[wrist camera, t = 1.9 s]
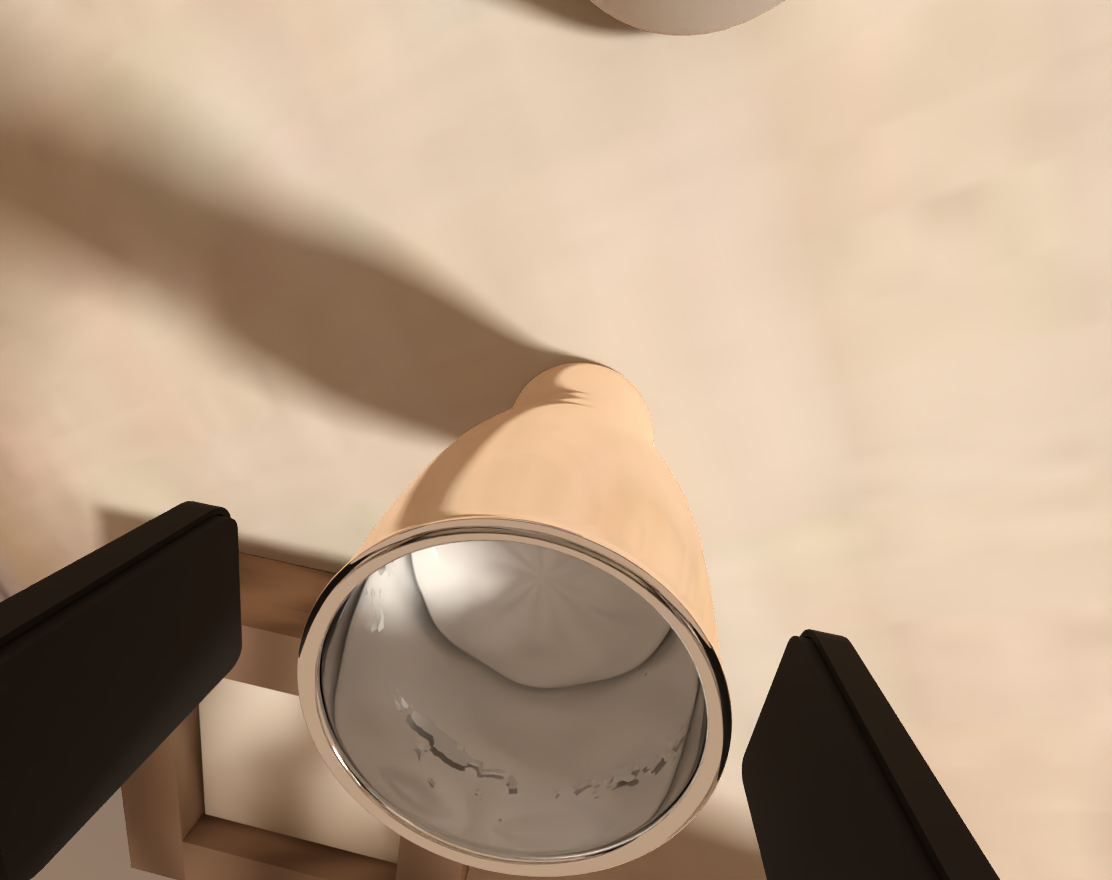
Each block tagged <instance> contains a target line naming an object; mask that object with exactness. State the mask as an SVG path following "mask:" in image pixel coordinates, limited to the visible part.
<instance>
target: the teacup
mask: <svg viewBox="0 0 1112 880" xmlns="http://www.w3.org/2000/svg"><path fill="white" fill-rule="evenodd" d="M590 1H591V2H592V3H594V4H595V5H596V6H597V7H598V8H600V9H601V10H602V11H604V12H605V13H607V14H608V15H610V16H612V17H614V18H615V19H617V20H619V21H621V22H623V23H625V24H628V25H630V26H633V27H635V28H638V29H640V30H644V31H648V32H653V33H659V34H665V35H687V36H689V35H699V34H708V33H712V32H717V31H721V30H725V29H728V28H730V27H733V26H736V25H739V24H741V23H744V22H747V21H749V20H751V19H753V18H755V17H757V16H759V15H760V14H762V13H764V12H766V11H768V10H770V9H772V8H773V7H775V6H777V5H778V4H780V3H781V2H783V1H784V0H590Z"/></svg>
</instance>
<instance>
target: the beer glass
mask: <svg viewBox="0 0 1112 880" xmlns="http://www.w3.org/2000/svg"><path fill="white" fill-rule="evenodd" d="M653 442H654V426H653V421H652V417H651V413H650V411H649V408H648V406H647V404H646V402H645V400H644V398H643V396H642V395H641V393H640V392H639V391H638V389H637V388H636V387H635V386H634V385H633V384H632V383H631V382H630V381H629V380H627V379H626V378H625V377H624V376H622V375H621V374H619V373H617V372H615V371H614V370H611V369H609V368H607V367H604V366H601V365H597V364H592V363H568V364H563V365H559V366H556V367H553V368H550V369H548V370H546V371H544V372H542V373H541V374H539V375H538V376H536V377H535V378H534V379H532V380H531V381H530V382H529V383H528V384H527V385H526V386H525V387H524V389H523V390H522V391H521V393H520V394H519V396H518V397H517V399H516V401H515V403H514V406H513V408H512V409H509V410H507V411H504V412H502V413H500V414H498V415H496V416H494V417H492V418H490V419H488V420H486V421H484V422H482V423H481V424H479V425H477V426H475V427H474V428H472V429H470V430H469V431H467V432H466V433H464V434H463V435H462V436H461V437H459V438H458V439H457V440H456V441H455V442H453V443H452V444H451V445H450V446H449V447H447V448H446V449H445V450H444V451H443V452H441V453H440V454H439V455H438V456H437V457H435V458H434V459H433V460H432V461H431V462H430V463H429V464H428V465H427V466H426V467H425V468H424V469H423V471H422V472H421V473H420V474H419V475H418V476H417V477H416V478H415V479H414V480H413V481H412V483H411V484H410V485H409V486H408V487H407V488H406V489H405V490H404V491H403V492H402V494H401V495H400V496H399V497H398V498H397V500H396V501H395V502H394V503H393V505H392V506H391V507H390V509H389V510H388V511H387V512H386V514H385V515H384V516H383V517H382V519H381V520H380V521H379V522H378V524H377V525H376V526H375V528H374V529H373V530H372V532H371V533H370V534H369V536H368V537H367V539H366V540H365V541H364V543H363V544H362V545H361V547H360V548H359V549H358V551H357V552H356V553H355V555H354V556H353V557H352V558H351V560H350V561H349V562H348V563H347V564H346V565H345V566H344V567H343V568H342V569H341V570H340V571H339V572H338V573H337V574H336V575H335V576H334V577H333V578H332V579H331V581H330V582H329V583H328V584H327V586H326V587H325V588H324V590H323V591H322V593H321V594H320V596H319V597H318V599H317V601H316V602H315V604H314V606H313V608H312V610H311V612H310V614H309V616H308V619H307V621H306V624H305V627H304V630H303V633H302V637H301V641H300V646H299V652H298V662H297V681H298V692H299V699H300V704H301V709H302V712H303V716H304V719H305V722H306V725H307V728H308V730H309V733H310V735H311V738H312V740H313V742H314V744H315V746H316V748H317V750H318V752H319V753H320V755H321V757H322V759H323V760H324V762H325V763H326V765H327V766H328V768H329V769H330V771H331V772H332V774H333V775H334V776H335V778H336V779H337V780H338V781H339V783H340V784H341V785H342V786H343V787H344V789H345V790H346V791H347V792H348V793H349V794H350V795H351V796H352V797H353V798H354V799H355V800H356V801H357V802H358V803H359V804H360V805H361V806H362V807H363V808H364V809H365V810H366V811H368V812H369V813H370V814H371V815H372V816H374V817H375V818H376V819H377V820H379V821H380V822H381V823H383V824H384V825H386V826H387V827H388V828H390V829H391V830H393V831H394V832H396V833H397V834H399V835H401V836H402V837H404V838H406V839H407V840H409V841H411V842H412V843H414V844H416V845H418V846H420V847H422V848H424V849H426V850H428V851H430V852H433V853H435V854H437V855H440V856H442V857H445V858H447V859H450V860H453V861H455V862H458V863H461V864H464V865H468V866H471V867H475V868H479V869H483V870H487V871H492V872H498V873H503V874H510V875H518V876H532V877H559V876H571V875H579V874H586V873H591V872H596V871H601V870H605V869H609V868H612V867H615V866H619V865H622V864H624V863H627V862H630V861H632V860H634V859H637V858H639V857H641V856H643V855H645V854H647V853H649V852H651V851H653V850H655V849H656V848H658V847H660V846H661V845H663V844H664V843H666V842H667V841H669V840H670V839H671V838H673V837H674V836H675V835H676V834H678V833H679V832H680V831H681V830H682V829H684V828H685V827H686V826H687V825H688V824H689V823H690V822H691V821H692V820H693V819H694V818H695V816H696V815H697V814H698V813H699V812H700V811H701V809H702V808H703V807H704V805H705V804H706V802H707V801H708V799H709V798H710V796H711V795H712V793H713V791H714V790H715V788H716V786H717V784H718V782H719V780H720V777H721V775H722V772H723V770H724V767H725V764H726V760H727V757H728V752H729V747H730V741H731V731H732V712H731V701H730V695H729V690H728V685H727V681H726V678H725V674H724V671H723V668H722V663H721V656H720V648H719V640H718V632H717V624H716V617H715V611H714V604H713V598H712V591H711V585H710V579H709V574H708V570H707V566H706V561H705V557H704V553H703V548H702V544H701V540H700V536H699V533H698V530H697V527H696V524H695V522H694V519H693V516H692V514H691V511H690V508H689V505H688V503H687V500H686V498H685V495H684V493H683V491H682V489H681V487H680V485H679V483H678V481H677V480H676V478H675V476H674V475H673V473H672V472H671V470H670V469H669V467H668V466H667V464H666V463H665V461H664V459H663V458H662V457H661V455H660V454H659V452H658V451H657V450H656V449H655V447H654V446H653Z"/></svg>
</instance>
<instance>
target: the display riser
mask: <svg viewBox="0 0 1112 880" xmlns="http://www.w3.org/2000/svg"><path fill="white" fill-rule="evenodd" d="M239 575H240V600H241V625H242V650H241V654H240V657H239V659H238V661H237V663H236V664H235V666H234V667H233V668H232V670H231V671H230V672H229V673H228V674H227V675H226V676H225V677H224V678H223V679H222V680H221V681H220V682H219V683H218V684H217V685H216V687H215V688H214V689H213V690H212V691H211V692H210V693H209V694H208V695H207V696H206V697H205V698H204V699H203V700H202V701H201V702H200V703H199V704H198V705H197V707H196V708H195V709H194V710H193V711H192V712H191V713H190V714H189V715H188V716H187V717H186V718H185V719H184V720H183V721H182V722H181V723H180V724H179V725H178V727H177V728H176V729H175V730H174V731H173V732H172V733H171V734H170V735H169V736H168V737H167V738H166V739H165V740H164V741H163V742H162V743H161V744H160V745H159V747H158V748H157V749H156V750H155V751H154V752H153V753H152V754H151V755H150V756H149V757H148V758H147V759H146V760H145V761H144V762H143V763H142V764H141V766H140V767H139V768H138V769H137V770H136V771H135V772H134V773H133V774H132V775H131V776H130V777H129V778H128V779H127V780H126V781H125V782H124V783H123V784H122V786H121V790H122V797H123V806H124V813H125V821H126V829H127V837H128V844H129V853H130V860H131V867H132V868H136V869H139V870H143V871H147V872H150V873H154V874H158V875H162V876H165V877H169V878H173V879H177V880H466V877H467V873H468V869H469V866H468V865H464V864H461V863H458V862H455V861H453V860H450V859H447V858H445V857H442V856H440V855H437V854H435V853H433V852H430V851H428V850H426V849H424V848H422V847H420V846H418V845H416V844H414V843H412V842H411V841H409V840H407V839H406V838H404V837H402V836H401V835H399V834H397V833H396V832H394V831H393V830H391V829H390V828H388V827H387V826H386V825H384V824H383V823H381V822H380V821H379V820H377V819H376V818H375V817H374V816H372V815H371V814H370V813H369V812H368V811H366V810H365V809H364V808H363V807H362V806H361V805H360V804H359V803H358V802H357V801H356V800H355V799H354V798H353V797H352V796H351V795H350V794H349V793H348V792H347V791H346V790H345V789H344V787H343V786H342V785H341V784H340V783H339V781H338V780H337V779H336V778H335V776H334V775H333V774H332V772H331V771H330V769H329V768H328V766H327V765H326V763H325V762H324V760H323V759H322V757H321V755H320V753H319V752H318V750H317V748H316V746H315V744H314V742H313V740H312V738H311V735H310V733H309V730H308V728H307V725H306V722H305V719H304V716H303V712H302V709H301V704H300V699H299V692H298V681H297V662H298V652H299V646H300V641H301V637H302V633H303V630H304V627H305V624H306V621H307V619H308V616H309V614H310V612H311V610H312V608H313V606H314V604H315V602H316V601H317V599H318V597H319V596H320V594H321V593H322V591H323V590H324V588H325V587H326V586H327V584H328V583H329V582H330V581H331V579H332V578H333V577H334V576H335V575H336V574H333V573H328V572H324V571H320V570H315V569H311V568H306V567H302V566H297V565H293V564H288V563H284V562H279V561H275V560H270V559H266V558H261V557H257V556H253V555H248V554H244V553H239Z"/></svg>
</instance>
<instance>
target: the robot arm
mask: <svg viewBox="0 0 1112 880" xmlns="http://www.w3.org/2000/svg"><path fill="white" fill-rule="evenodd" d="M241 650H242V625H241V600H240V575H239V550H238V527H237V523H236V521H235V520H234V519H232V518H231V517H230V514H229V512H228V510H226V509H225V508H223V507H218V506H213V505H208V504H204V503H199V502H194V501H187V502H184V503H181V504H180V505H178V506H176V507H174V508H172V509H170V510H169V511H167V512H165V513H163V514H161V515H159V516H158V517H156V518H154V519H152V520H150V521H148V522H147V523H145V524H143V525H141V526H139V527H137V528H136V529H134V530H132V531H130V532H128V533H126V534H125V535H123V536H121V537H119V538H117V539H116V540H114V541H112V542H110V543H108V544H106V545H105V546H103V547H101V548H99V549H97V550H95V551H94V552H92V553H90V554H88V555H86V556H84V557H83V558H81V559H79V560H77V561H75V562H73V563H72V564H70V565H68V566H66V567H64V568H63V569H61V570H59V571H57V572H55V573H53V574H52V575H50V576H48V577H46V578H44V579H42V580H41V581H39V582H37V583H35V584H33V585H31V586H30V587H28V588H26V589H24V590H22V591H20V592H19V593H17V594H15V595H13V596H11V597H9V598H8V599H6V600H4V601H2V602H0V880H30V879H31V878H33V877H34V876H35V875H36V874H37V873H38V872H39V871H41V870H42V869H43V868H44V867H45V865H46V864H47V863H48V862H49V861H50V860H51V859H52V858H53V857H54V856H55V855H56V854H57V853H58V852H59V851H60V850H61V849H62V848H63V847H64V845H65V844H66V843H67V842H68V841H69V840H70V839H71V838H72V837H73V836H74V835H75V834H76V833H77V832H78V831H79V830H80V829H81V827H83V826H84V824H85V823H86V822H87V821H88V820H89V819H90V818H91V817H92V816H93V815H94V814H95V813H96V812H97V811H98V810H99V808H100V807H102V806H103V804H104V803H105V802H106V801H107V800H108V799H109V798H110V797H111V796H112V795H113V794H114V793H115V792H116V791H117V790H118V789H119V788H120V787H121V786H122V784H123V783H124V782H125V781H126V780H127V779H128V778H129V777H130V776H131V775H132V774H133V773H134V772H135V771H136V770H137V769H138V768H139V767H140V766H141V764H142V763H143V762H144V761H145V760H146V759H147V758H148V757H149V756H150V755H151V754H152V753H153V752H154V751H155V750H156V749H157V748H158V747H159V745H160V744H161V743H162V742H163V741H164V740H165V739H166V738H167V737H168V736H169V735H170V734H171V733H172V732H173V731H174V730H175V729H176V728H177V727H178V725H179V724H180V723H181V722H182V721H183V720H184V719H185V718H186V717H187V716H188V715H189V714H190V713H191V712H192V711H193V710H194V709H195V708H196V707H197V705H198V704H199V703H200V702H201V701H202V700H203V699H204V698H205V697H206V696H207V695H208V694H209V693H210V692H211V691H212V690H213V689H214V688H215V687H216V685H217V684H218V683H219V682H220V681H221V680H222V679H223V678H224V677H225V676H226V675H227V674H228V673H229V672H230V671H231V670H232V668H233V667H234V666H235V664H236V663H237V661H238V659H239V657H240V654H241ZM742 779H743V785H744V789H745V793H746V797H747V801H748V805H749V809H750V813H751V817H752V821H753V825H754V829H755V833H756V837H757V841H758V845H759V849H760V853H761V857H762V861H763V865H764V869H765V873H766V877H767V880H1000V879H999V877H998V876H997V874H996V873H995V871H994V869H993V868H992V866H991V865H990V863H989V861H988V860H987V858H986V857H985V855H984V854H983V852H982V850H981V849H980V847H979V846H978V844H977V842H976V841H975V839H974V838H973V836H972V834H971V833H970V831H969V830H968V828H967V826H966V825H965V823H964V822H963V820H962V819H961V817H960V815H959V814H958V812H957V811H956V809H955V807H954V806H953V804H952V803H951V801H950V799H949V798H948V796H947V795H946V793H945V792H944V790H943V788H942V787H941V785H940V784H939V782H938V780H937V779H936V777H935V776H934V774H933V772H932V771H931V769H930V768H929V766H928V764H927V763H926V761H925V760H924V758H923V757H922V755H921V753H920V752H919V750H918V749H917V747H916V745H915V744H914V742H913V741H912V739H911V737H910V736H909V734H908V733H907V731H906V730H905V728H904V726H903V725H902V723H901V722H900V720H899V718H898V717H897V715H896V714H895V712H894V710H893V709H892V707H891V706H890V704H889V702H888V701H887V699H886V698H885V696H884V695H883V693H882V691H881V690H880V688H879V687H878V685H877V683H876V682H875V680H874V679H873V677H872V675H871V674H870V672H869V671H868V669H867V668H866V666H865V664H864V663H863V661H862V660H861V658H860V656H859V655H858V653H857V652H856V650H855V648H854V647H853V645H852V644H851V642H850V641H849V640H848V639H847V638H845V637H843V636H839V635H834V634H830V633H825V632H820V631H815V630H810V629H808V630H805V631H804V632H803V633H802V634H801V635H800V637H799V636H793V637H791V638H790V640H789V642H788V644H787V646H786V649H785V652H784V654H783V657H782V659H781V662H780V664H779V667H778V669H777V672H776V675H775V677H774V680H773V682H772V685H771V687H770V690H769V693H768V695H767V698H766V700H765V703H764V705H763V708H762V711H761V713H760V716H759V718H758V721H757V723H756V726H755V728H754V731H753V734H752V736H751V739H750V741H749V744H748V746H747V749H746V752H745V754H744V757H743V762H742Z"/></svg>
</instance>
